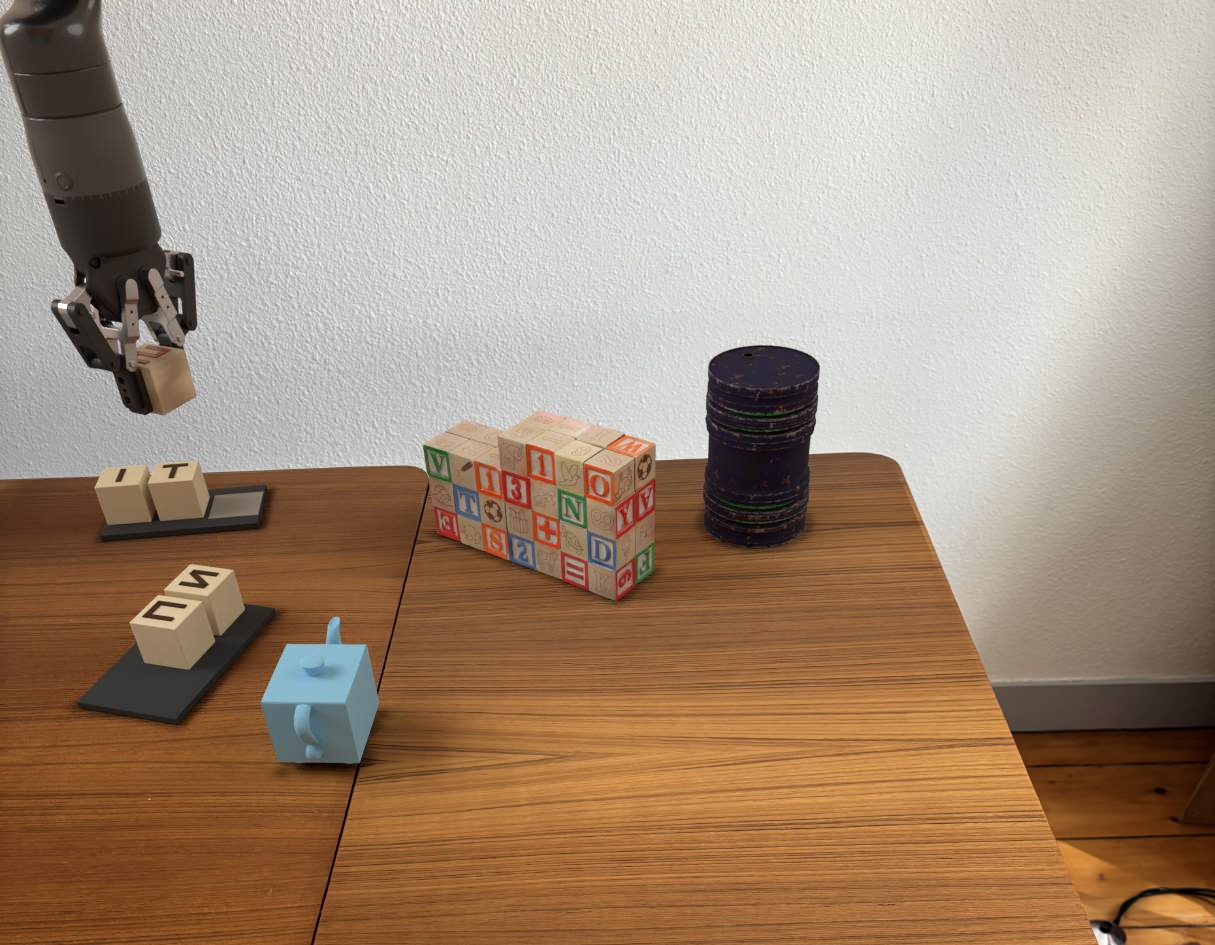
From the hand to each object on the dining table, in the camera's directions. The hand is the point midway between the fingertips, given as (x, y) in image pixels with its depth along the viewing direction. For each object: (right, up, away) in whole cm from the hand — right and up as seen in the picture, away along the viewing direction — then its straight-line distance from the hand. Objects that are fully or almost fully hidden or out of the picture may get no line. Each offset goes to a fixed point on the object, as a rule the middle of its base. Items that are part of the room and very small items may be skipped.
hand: (160, 400), depth 96 cm
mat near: (+2, -22, -2) cm, 22 cm away
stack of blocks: (+32, -11, +9) cm, 35 cm away
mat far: (-4, -5, +17) cm, 18 cm away
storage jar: (+52, -8, +12) cm, 54 cm away
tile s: (0, 0, 0) cm, 0 cm away
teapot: (+17, -29, -9) cm, 35 cm away
